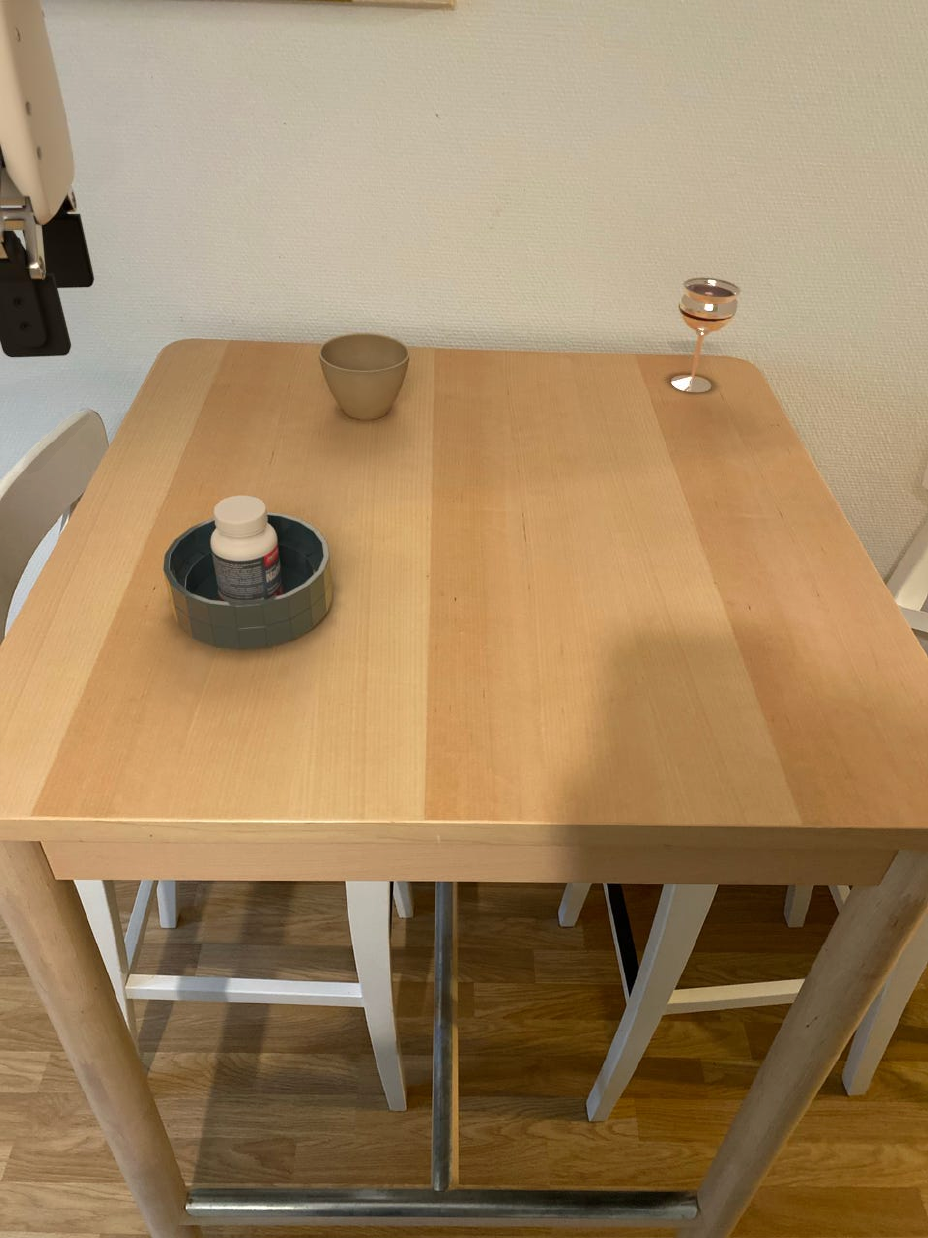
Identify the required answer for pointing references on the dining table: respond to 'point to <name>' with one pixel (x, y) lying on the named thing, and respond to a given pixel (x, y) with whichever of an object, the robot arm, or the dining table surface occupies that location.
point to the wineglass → (705, 319)
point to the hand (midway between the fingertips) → (53, 317)
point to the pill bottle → (245, 551)
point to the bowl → (252, 620)
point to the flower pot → (364, 372)
